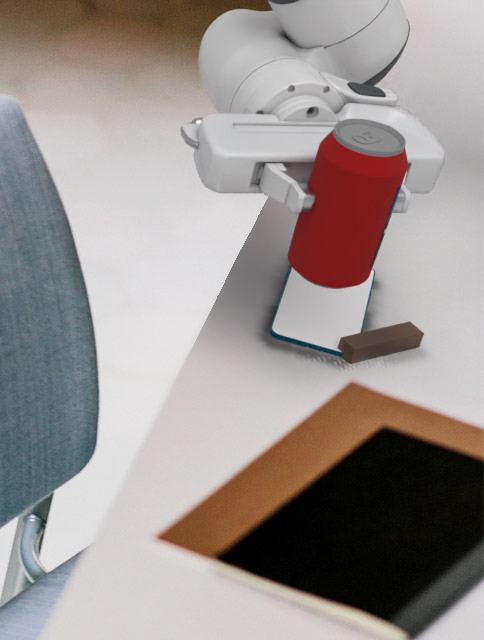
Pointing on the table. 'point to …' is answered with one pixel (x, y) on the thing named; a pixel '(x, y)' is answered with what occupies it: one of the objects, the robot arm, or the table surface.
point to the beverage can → (349, 203)
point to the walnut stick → (380, 342)
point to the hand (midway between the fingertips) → (354, 205)
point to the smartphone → (320, 313)
